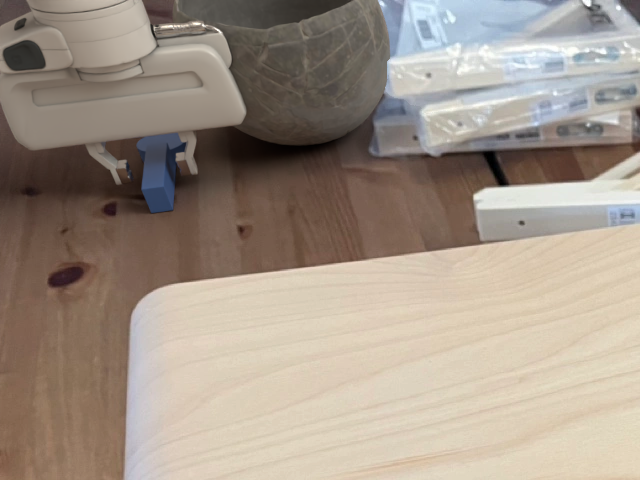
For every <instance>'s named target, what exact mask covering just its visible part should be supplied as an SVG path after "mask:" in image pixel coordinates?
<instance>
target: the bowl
mask: <svg viewBox="0 0 640 480" xmlns="http://www.w3.org/2000/svg"><path fill="white" fill-rule="evenodd" d="M172 8H173V9H172V23H173V24H174V23H183V24H184V23H188V22H190V21H204V23H205V24H206V25H211V26H214V27H216V28H218V29H219V30H221V31H222V32H223V33H224V35H225V36H226V38H227V40H228V42H229V45H230V48H231V52H232V55H233V63H232V65H231V67H230V71H231V73H232V75H233V77H234V79H235V81H236V83H237V86H238V88H239V90H240V93H241V95H242V98H243V100H244V103H245V106H246V116H245V118H244V120H243V122H242V123H241V124H240V125H235V126H233V127H234V128H235V129H237V130H239V131H240V132H243V133H245V134H246V135H249V136H250V137H254V138H256V139H258V140H261V141H264V142H267V143H273V144H277V145H285V146H312V145H313V146H314V145H320V144H321V145H322V144H326V143H330V142H331V141H334V140H337V139H340V138H342V137H344V136H346V135H347V134H349V133H351V132H352V131H354V130H355V129H356V128H358V127H359V126H361V125H362V124H363V123H365V121H366V120H367V119H368V118H369V117H370V116H371V114H372V113H373V112H374V110H375V109H376V108H377V106H378V104H379V102H380V101H381V99H382V97H383V95H384V93H385V91H386V88H387V84H388V79H387V61H388V60H389V59H390V60H391V43H390V35H389V30H388V26H387V21H386V19H385V16H384V12H383V10H382V9H383V8H382V7H381V4H380V2H379V0H173V6H172ZM207 32H213V31H212V30H208V29H207ZM385 87H386V88H385Z"/></svg>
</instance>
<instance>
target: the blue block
mask: <svg viewBox="0 0 640 480" xmlns="http://www.w3.org/2000/svg"><path fill="white" fill-rule="evenodd" d="M135 146H136V149H137V152H138V154H139V156H140V158H141V161H142V163H143V170H142V180H141V192H142V194H143V197H144V199H145V203H146V204H147V206H148V208H149V211H150V213H151V214H157V213H164V212H171V211H174V202H175V187H176V175H177V163H176V153H181V152H184V151H185V147H186V142H181V140H180V137H179V135H178V133H171V134H163V135H155V136H147V137H141V138H140V139H139V140H138V141H137V143H136V144H135Z"/></svg>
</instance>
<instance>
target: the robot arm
mask: <svg viewBox="0 0 640 480" xmlns="http://www.w3.org/2000/svg"><path fill="white" fill-rule="evenodd" d="M26 3H27V5H28V6H29V10H30V11H28V12H27V13H25V14H23V15H21V16H18V17H17V18H13V19H12V20H10V21H7V22H4V23H3V24H1V25H0V105H1V109H2V111H3V114H4V116H5V119H6V122H7V124H8V127H9V129H10V131H11V133H12V135H13V137H14V139H15V141H16V142H17V143H18V144H20V145H21V146H23V147H25V148H26V149H27V150H28V151H32V152H35V151H43V150H51V149H58V148H59V149H60V148H66V147H68V148H69V147H75V146H82V145H83V146H84V145H85V148H86V150H87V153H88V155H89V156H91V157H92V158H93V159H94V160H95V161H97V162H98V163H99V164H100V165H101V166H103V167H104V168H105V169H106V170H110V174H111V176H112V178H113V180H114V182H115V184H116V185H117V186H122V185H128V184H133V183H134V179H135V177H134V173H133V171H132V169H130V163H129V162H128V159H120V160H118V159H117V158H116V157H115V156H114V155H112V153H110V152H109V151H108V150H107V149H106V144H107V142H116V141H123V140H131V139H139V138H144V137H147V136H155V135H163V134H171V133H178V135H179V137H180V140H181V142H186V147H185V151H184V152H181V153H176V163H177V164H176V167H177V168H178V169H179V173H180V176H181V177H187V176H196V175H198V173H199V168H198V165H197V162H196V159H195V156H194V153H195V150H196V146H197V141H198V140H197V139H198V138H197V137H198V131H200V130H202V131H203V130H209V129H217V128H225V127H226V128H227V127H234V126H235V125H240V124H241V123H242V122H243V120H244V118H245V116H246V106H245V103H244V100H243V98H242V95H241V93H240V90H239V88H238V86H237V83H236V81H235V79H234V77H233V75H232V73H231V71H230V67H231V65H232V63H233V55H232V52H231V48H230V45H229V42H228V40H227V38H226V36H225V35H224V33H223V32H222V31H221V30H219V29H218V28H216V27H214V26H211V25H206V24H205V23H204V21H190V22H188V23H184V24H183V23H174V24H173V22H170V23H160V24H159V23H158V24H157V23H156V24H152V23H151V21H150V18H149V15H148V12H147V9H146V7H145V4H144V2H143V0H26ZM207 29H208V30H212V31H213V32H207Z"/></svg>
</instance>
